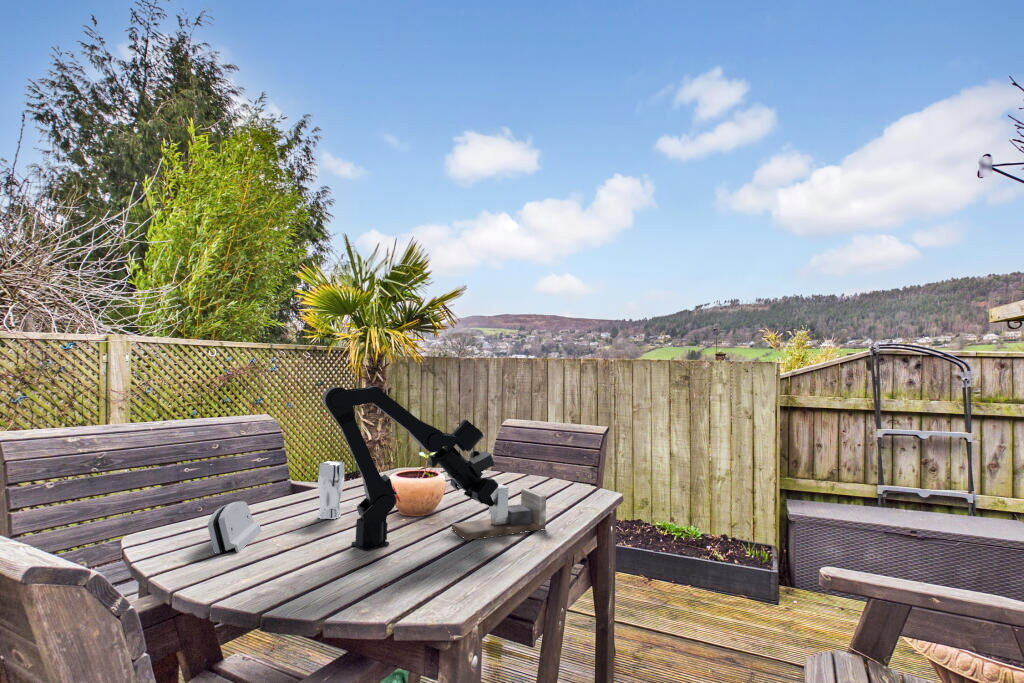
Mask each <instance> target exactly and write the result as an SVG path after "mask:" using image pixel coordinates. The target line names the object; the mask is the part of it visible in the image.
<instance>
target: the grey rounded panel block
mask: <svg viewBox="0 0 1024 683" xmlns="http://www.w3.org/2000/svg"><path fill="white" fill-rule="evenodd" d="M207 529H208V532H209V537H210V542H211V546H212V549H213V550H212V551H213V552H216V553H218V554H220V553H221V552H223V551H229V550H232V549H235V553H236V552H239V551H241V550H242V549H243V548H244V547H245V546H246V545H247V544H248V543H249V542H250V541H251V540H252V539H253V538H254V539H255V538H256V537H257V536H258V535H259V534H260V533H261V532H262V528H261V525H260V524H259V523H257V522H255V521H254V518H253V515H252V513H251V511H250V508H249V506H248V503H247V502H246V501H242V500H241V501H233V502H231V503H228V504H225V505H223V506H220V507H219V508H218V509H217V510H215V511H214V512H213V514H212V515H210V518H209V520H208V522H207ZM254 539H253V540H254ZM253 540H252V541H253ZM252 541H251V542H252ZM251 542H250V543H251ZM250 543H249V544H250ZM249 544H248V545H249ZM248 545H247V546H248ZM247 546H246V547H247ZM246 547H245V548H246ZM245 548H244V549H245ZM222 550H223V551H222ZM242 551H243V550H242ZM242 551H241V552H242ZM239 553H240V552H239Z"/></svg>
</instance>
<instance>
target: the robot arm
mask: <svg viewBox="0 0 1024 683" xmlns="http://www.w3.org/2000/svg"><path fill="white" fill-rule="evenodd" d="M322 403H323V406H324V407H325V408H326V410H327V411H328V412H329V414H330V415H331V417H332V419H333V420H334V421H335V422H336V423H337V425H338V426H339V428H340V431H341V433H342V435H343V437H344V440H345V443H346V444H347V446H348V449H349V451H350V453H351V455H352V457H353V459H354V462H355V464H356V467H357V469H358V471H359V474H360V476H361V479H362V484H363V489H364V494H365V498H364V499H363V500H362V501H361V502H360V503H359V504H358V505H357V506H356V510H357V513H358V515H359V516H360V517H359V518H357V519H356V522H355V523H356V525H355V541H352V542H351V545H352V546H355V547H356V548H358V549H361V550H363V551H366V552H367V551H368V552H369V551H371V550H375V549H378V548H382V547H386V546H389V545H390V541H387V540H388V522H387V517H388V515H389V513H390V512H391V511H392V510H393V509H394V507H395V505H396V503H397V498H396V495H397V494H398V493H397V492H396V491H395V489H394V487H393V484H392V480H391V478H390V477H389V476H388V475H387V474H383V475H381V474H380V472H379V470H378V468H377V466H376V464H375V461H374V459H373V456H372V455H371V452H370V450H369V448H368V445H367V443H366V441H365V439H364V436H363V434H362V431H361V430H360V427H359V425H358V423H357V420H356V419H357V418H356V415H355V406H362V405H367V404H368V405H369V404H371V405H373V406H375V407H376V408H377V409H378V410H380V411H381V412H383V413H384V414H385V415H386V416H388V417H389V418H390V419H392V420H393V421H394V422H396V423H397V424H398V425H399V426H401V427H402V428H404V429H405V431H406V432H408V434H409V435H410V437H411V438H412V440H414V441H415V443H417V445H418V446H419V447H420V448H422V449H424V450H426V451H428V452H429V453H433V454H429V455H428V460H427V465H428V466H429V467H430V468H432V469H433V468H435V467H436V466H437V465H439V466H440V467H441V469H443V470H444V472H446V474H447V477H449V478H450V486H451V487H452V488H453V489H454V490H456V491H458V492H459V490H463V491H464V493H463V494H464V496H466V497H468V498H469V499H472V500H474V501H476V502H478V503H480V504H484V505H485V506H491V507H492V506H493V505H494V502H493V500H492V498H491V494H492V493H493V492H494V491H495V490H496V489H497V487H498V485H499V484H500V483H498V482H497V481H496V480H495V479H493V478H491V477H489V476H483V475H484V473H483V472H484V471H486V470H487V469H489V468H493V467H494V466H495V465H496V463H495V460H494V458H493V456H492V453H490V452H487V451H481V452H479V451H478V450H476V449H474V448H475V446H476V445H477V444H478V443H479V442H480V441H481V440H482V439H483V438H484V434H483V433H482V431H481V430H480V429H479V428H478V427H476V426H475V425H474V424H472V423H471V422H470V421H469V420H468V419H463V420H462V421H461V422H460V423H459V425H458V426H457V427H456V428H455V429H454V431H453V432H451V433H449V432H446V431H445V432H443V430H440V429H438V428H436V427H434V426H432V425H431V424H429V423H427V422H424V421H423V420H421V419H419V418H417V417H416V416H415V415H413V413H411V412H410V411H409V410H408V409H406V408H404V406H402V405H401V404H399V403H398V402H397V401H396V400H394V398H393V397H391V396H389V395H388V394H387V393H386V392H385V391H383V389H382V388H381V387H379V386H374V385H370V386H368V387H359V388H349V389H348V388H347V389H346V388H344V387H340V386H331V387H329V388H327V389H326V390H325V391H324V393H323V395H322ZM473 449H474V450H473ZM458 450H459V451H458ZM460 452H461V453H465V452H466V453H470V454H469V455H470V456H469V460H468V459H466V458H465V457H464V456H463V455H462V454H461V453H460ZM482 476H483V477H482Z"/></svg>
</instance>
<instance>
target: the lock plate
mask: <svg viewBox="0 0 1024 683" xmlns="http://www.w3.org/2000/svg"><path fill="white" fill-rule="evenodd" d="M520 492H521V495H520V496H521V497H520V498H521V499H520V504H513V505H508V514H509V523H507V524H499V525H495V524H493V523H491V518H488V519H480V520H471V521H464V522H456V523H451V530H452V529H453V530H454V531H453V530H452V531H453V532H455V531H456V532H457V533H458V534H457V533H456V532H455V533H456V534H457V535H459V536H460V535H461V536H462V538H463V537H464V538H465V539H466V540H465V539H464V538H463V539H464V540H465V541H467V540H468V541H473V540H472V539H475V540H479V539H478V538H482V539H485V538H484V537H490V538H492V537H491V536H497V537H500V536H499V535H504V536H507V535H506V534H511V535H513V534H512V533H518V534H521V533H520V532H525V531H533V530H540V531H542V530H541V529H545V530H546V524H547V522H546V517H547V516H546V515H547V514H546V513H547V495H545V494H543V493H540V492H538V491H536V490H533V489H531V488H528V487H524V488H523V487H522V488H521V491H520ZM533 532H534V531H533ZM525 533H526V532H525ZM461 536H460V537H461Z"/></svg>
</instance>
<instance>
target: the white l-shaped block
mask: <svg viewBox="0 0 1024 683" xmlns="http://www.w3.org/2000/svg"><path fill="white" fill-rule="evenodd" d="M498 484H499V485H498V487H497V489H496V490H495V491H494V492H493V493H492V494H491V498H492V500H493V502H494V505H493V506H492V507H491V506H489V507H488V508H489V510H488V514H489V515H490V519H491V523H493V524H495V525H499V524H507V523H509V514H508V506H509V486H506V485H504V484H501V483H498Z"/></svg>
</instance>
